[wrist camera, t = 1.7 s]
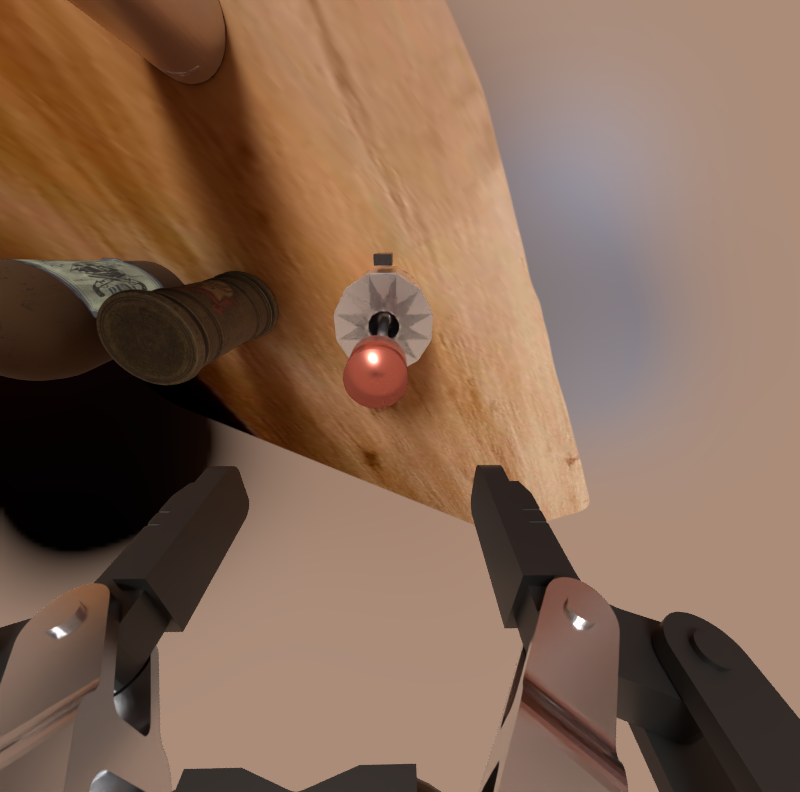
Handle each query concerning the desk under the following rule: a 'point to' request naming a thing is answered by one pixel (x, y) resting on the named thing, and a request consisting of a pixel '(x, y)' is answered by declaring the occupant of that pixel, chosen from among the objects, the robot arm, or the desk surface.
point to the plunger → (377, 365)
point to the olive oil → (62, 312)
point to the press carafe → (385, 308)
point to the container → (184, 325)
